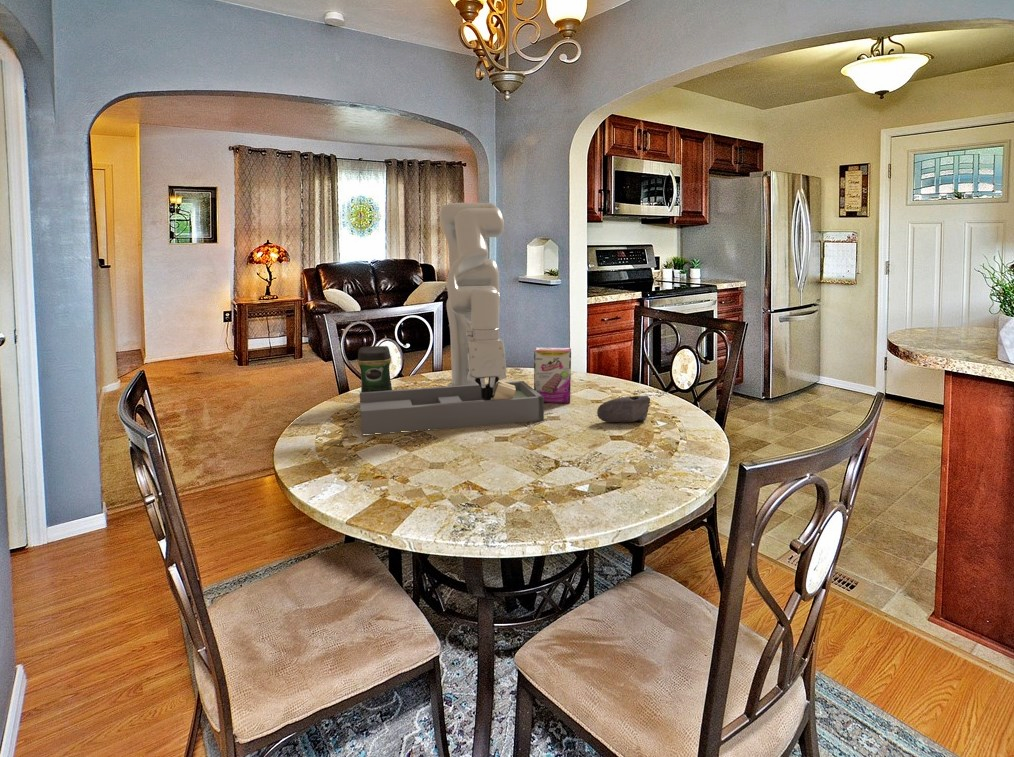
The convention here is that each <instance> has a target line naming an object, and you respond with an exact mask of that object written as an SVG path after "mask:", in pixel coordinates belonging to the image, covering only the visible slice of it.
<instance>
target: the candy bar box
mask: <svg viewBox="0 0 1014 757" xmlns="http://www.w3.org/2000/svg"><path fill="white" fill-rule="evenodd" d="M533 356H534V357H533V359H534V362H533V363H534V364H533V389H534V390H535V391H537V392H538V393H539V394H540V395H542V396H543V397H544V404H548V403H549V404H570V403H571V394H572V393H571V392H572V391H571V390H572V388H571V387H572V384H571V383H572V348H571V347H535V348H534V354H533Z"/></svg>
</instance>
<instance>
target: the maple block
mask: <svg viewBox="0 0 1014 757" xmlns="http://www.w3.org/2000/svg"><path fill="white" fill-rule="evenodd" d="M504 382H505V381H504ZM504 382H503V381H502V380H499V381H498V382H497V384H496V387H495V390H494V393H493V398H492V400H497V399H510V398H513V397H514V394H515V391H516V388H515V386H514V385H510V384H507V383H504Z"/></svg>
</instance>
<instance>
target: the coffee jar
mask: <svg viewBox="0 0 1014 757" xmlns="http://www.w3.org/2000/svg"><path fill="white" fill-rule="evenodd" d="M391 356H392V355H391V351H390V348H389V346H387V345H372V346H362V347H360V348H358V352H357V364H358V366H359V369H360V378H361V382H360V383H361V392H374V391H388V390H393V388H392V386H393V385H392V381H391V375H390V374H391V373H390V372H391V371H390V365H391V362H392V357H391Z"/></svg>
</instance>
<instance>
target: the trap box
mask: <svg viewBox="0 0 1014 757" xmlns="http://www.w3.org/2000/svg"><path fill="white" fill-rule="evenodd" d="M504 383H507V384H510V385H514V386H515V388H516V391H515V394H514V397H513V398H510V399H497V400H492V398H491V400H483V399H482V397H481V386H480V385H479V384H473V385H459V386H448V385H446V386H433V387H432V386H431V387H419V388H405V389H392V390H388V391H374V392H359V406H360V407H359V408H360V422H361V432H362V433H361V434H362V435H363V434H375V433H390V432H401V431H414V432H417V431H416V430H426V431H432V430H431V429H438V430H447V428H449V429H460V428H469V427H470V428H471V427H480V426H481V427H482V426H493V425H503V424H505V425H506V424H517V423H518V424H519V423H529V422H538V421H539V422H540V421H541V422H542V421H544V420H545V405H544V404H545V403H544V397H543V396H542V395H540V394H539V393H538V392H537V391H535V390H534V387H532V386H530V385H529V384H528V383H527V382H525V381H524V380H517V381H504ZM485 384H486V386H487V384H488V382H487V383H485ZM496 384H497V383H496ZM496 384H495V385H494V387H493V393H494V390H495V387H496ZM428 429H430V430H428ZM362 435H361V436H362Z"/></svg>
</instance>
